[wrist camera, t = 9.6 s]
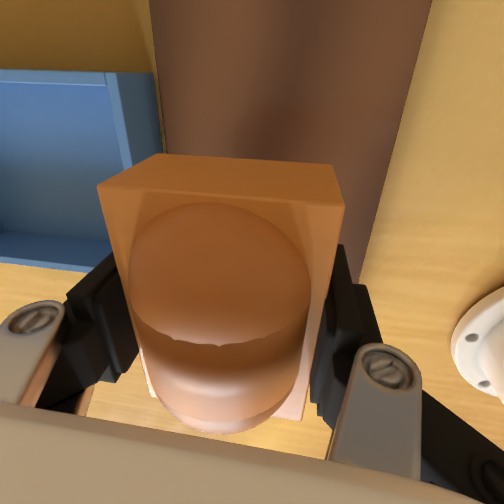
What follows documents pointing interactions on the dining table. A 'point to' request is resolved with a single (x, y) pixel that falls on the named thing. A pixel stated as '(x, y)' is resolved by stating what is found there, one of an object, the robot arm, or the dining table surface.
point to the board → (292, 87)
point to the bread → (225, 280)
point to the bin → (67, 159)
